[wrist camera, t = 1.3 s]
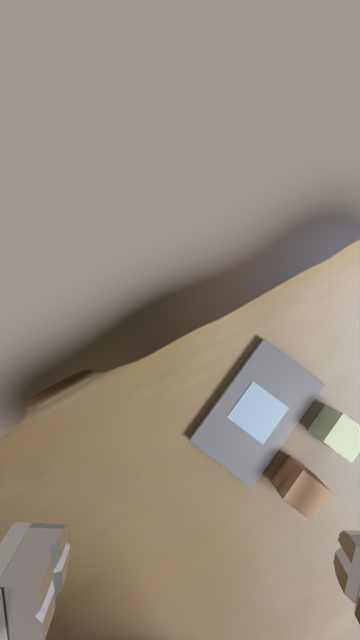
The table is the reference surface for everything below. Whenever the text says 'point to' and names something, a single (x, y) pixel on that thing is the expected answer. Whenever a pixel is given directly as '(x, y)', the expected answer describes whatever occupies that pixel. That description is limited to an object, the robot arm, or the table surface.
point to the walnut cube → (300, 488)
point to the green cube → (337, 432)
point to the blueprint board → (256, 412)
